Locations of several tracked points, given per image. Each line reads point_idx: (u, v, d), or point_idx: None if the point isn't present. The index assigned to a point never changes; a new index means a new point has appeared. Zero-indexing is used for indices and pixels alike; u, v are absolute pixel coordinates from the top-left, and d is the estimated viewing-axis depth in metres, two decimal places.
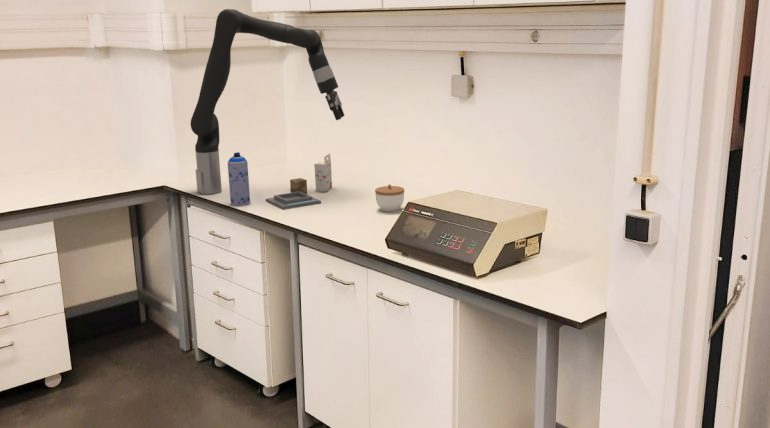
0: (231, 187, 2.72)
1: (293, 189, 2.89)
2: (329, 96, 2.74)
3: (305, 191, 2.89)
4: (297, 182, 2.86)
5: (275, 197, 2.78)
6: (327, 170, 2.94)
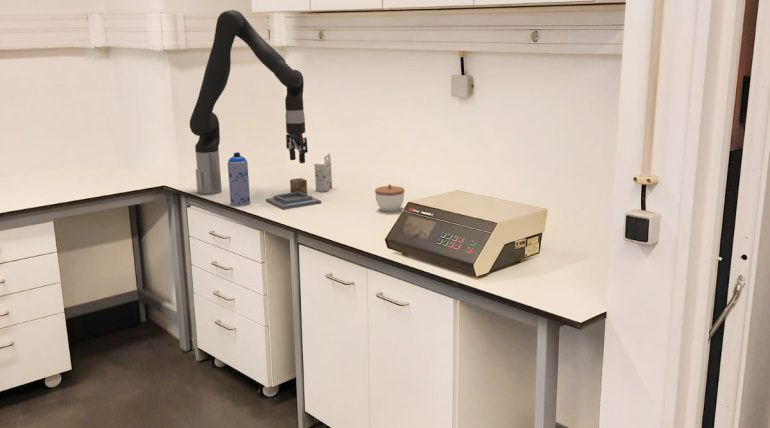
0: (231, 187, 2.72)
1: (293, 189, 2.89)
2: (304, 139, 2.79)
3: (305, 191, 2.89)
4: (297, 182, 2.86)
5: (275, 197, 2.78)
6: (327, 170, 2.94)
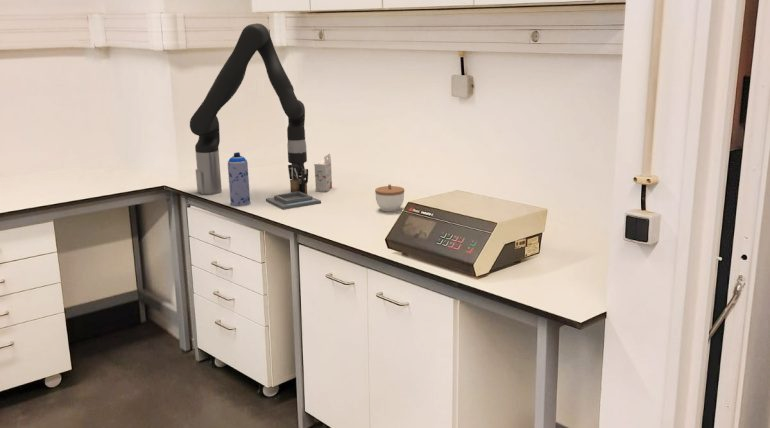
0: (231, 187, 2.72)
1: (293, 189, 2.89)
2: (306, 171, 2.83)
3: (305, 191, 2.89)
4: (297, 182, 2.86)
5: (275, 197, 2.78)
6: (327, 170, 2.94)
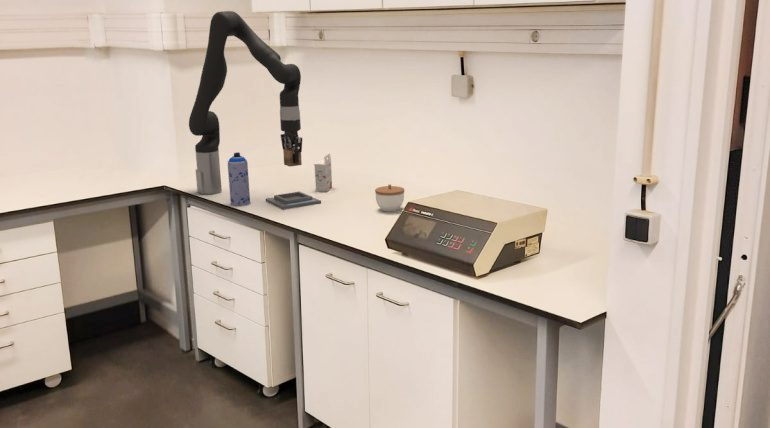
0: (231, 187, 2.72)
1: (286, 159, 2.73)
2: (300, 140, 2.67)
3: (299, 161, 2.73)
4: (291, 151, 2.71)
5: (275, 197, 2.78)
6: (327, 170, 2.94)
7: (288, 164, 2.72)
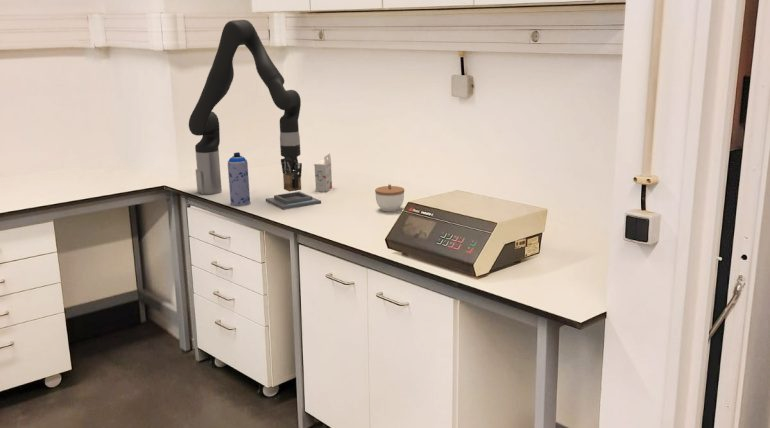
0: (231, 187, 2.72)
1: (286, 184, 2.74)
2: (299, 165, 2.68)
3: (299, 186, 2.75)
4: (290, 177, 2.72)
5: (275, 197, 2.78)
6: (327, 170, 2.94)
7: (288, 189, 2.74)
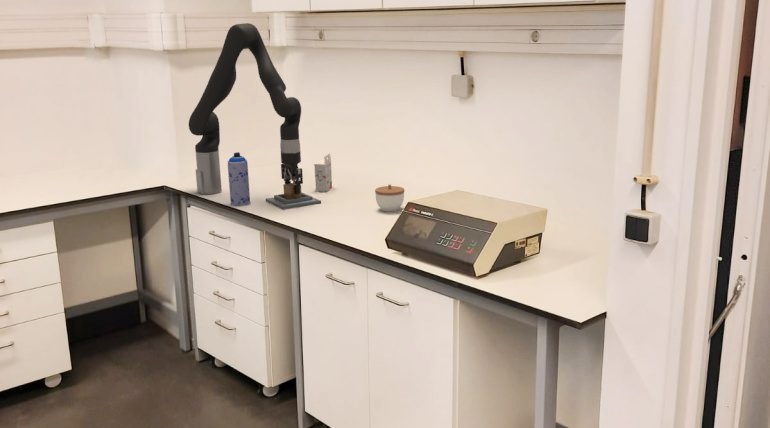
0: (231, 187, 2.72)
1: (287, 194, 2.75)
2: (300, 170, 2.69)
3: (299, 196, 2.76)
4: (291, 187, 2.73)
5: (275, 197, 2.78)
6: (327, 170, 2.94)
7: (288, 199, 2.75)
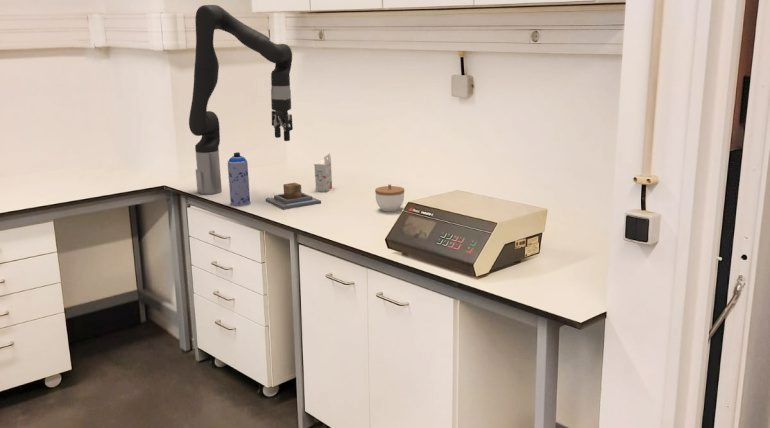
0: (231, 187, 2.72)
1: (287, 194, 2.75)
2: (289, 116, 2.71)
3: (299, 196, 2.76)
4: (291, 187, 2.73)
5: (275, 197, 2.78)
6: (327, 170, 2.94)
7: (288, 199, 2.75)
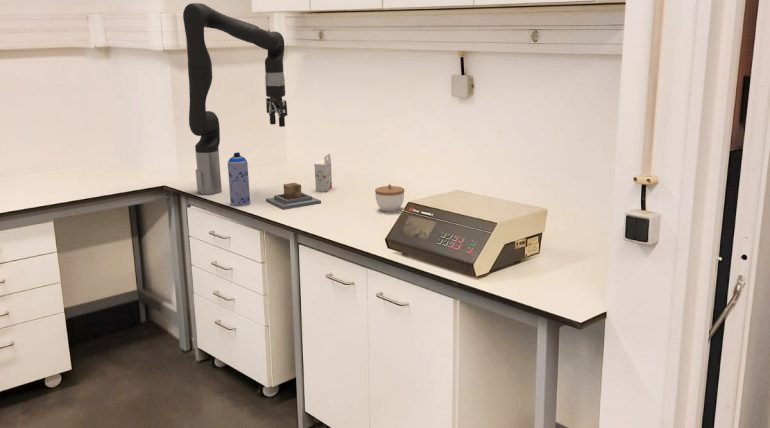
0: (231, 187, 2.72)
1: (287, 194, 2.75)
2: (284, 102, 2.76)
3: (299, 196, 2.76)
4: (291, 187, 2.73)
5: (275, 197, 2.78)
6: (327, 170, 2.94)
7: (288, 199, 2.75)
